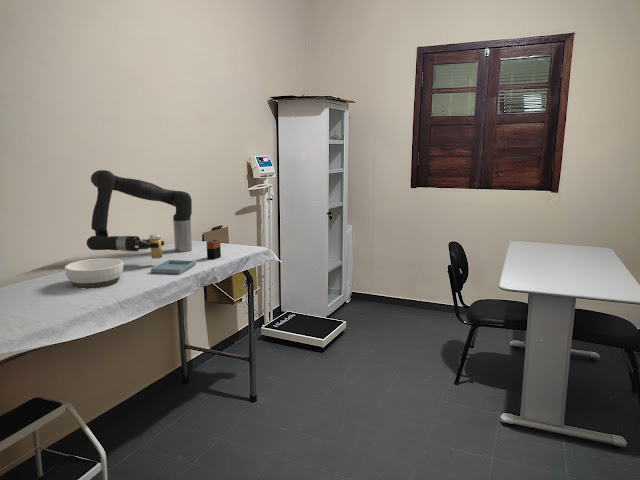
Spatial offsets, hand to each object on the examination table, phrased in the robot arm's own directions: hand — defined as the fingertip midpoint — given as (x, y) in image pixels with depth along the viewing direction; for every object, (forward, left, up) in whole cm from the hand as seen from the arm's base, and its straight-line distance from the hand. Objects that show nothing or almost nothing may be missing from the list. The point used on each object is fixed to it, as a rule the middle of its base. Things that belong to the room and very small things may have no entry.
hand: (160, 244), depth 232 cm
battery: (-20, +19, -11) cm, 30 cm away
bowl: (+34, -13, -11) cm, 38 cm away
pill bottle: (0, -3, -7) cm, 7 cm away
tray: (+6, +9, -11) cm, 15 cm away
